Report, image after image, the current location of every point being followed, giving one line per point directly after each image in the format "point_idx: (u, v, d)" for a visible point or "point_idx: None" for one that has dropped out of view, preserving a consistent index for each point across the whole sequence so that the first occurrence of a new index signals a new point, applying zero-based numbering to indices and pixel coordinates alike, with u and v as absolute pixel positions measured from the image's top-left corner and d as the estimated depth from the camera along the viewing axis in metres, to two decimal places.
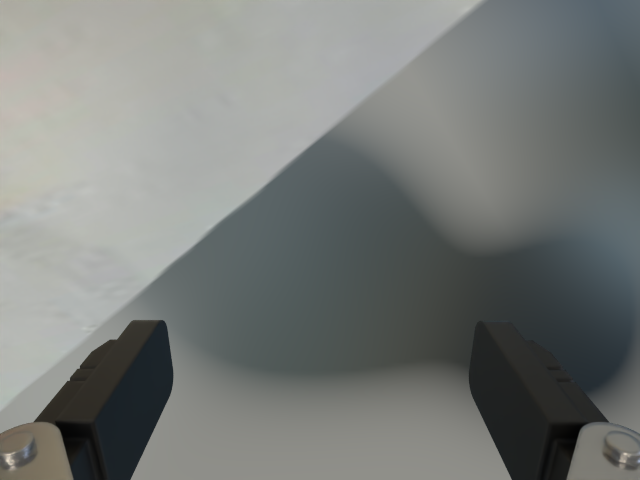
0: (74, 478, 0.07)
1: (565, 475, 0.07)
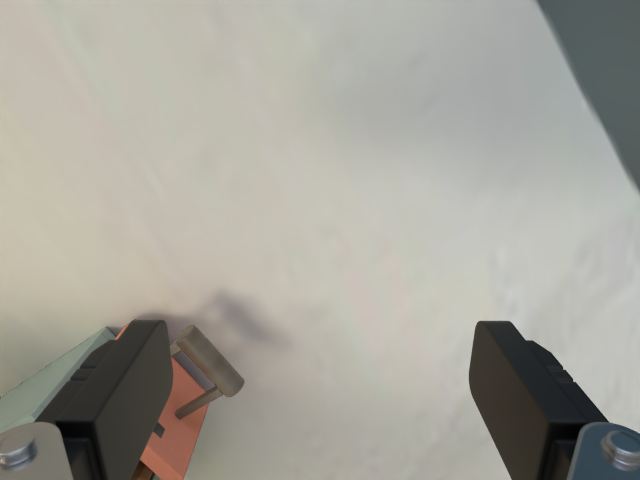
0: (74, 478, 0.07)
1: (565, 475, 0.07)
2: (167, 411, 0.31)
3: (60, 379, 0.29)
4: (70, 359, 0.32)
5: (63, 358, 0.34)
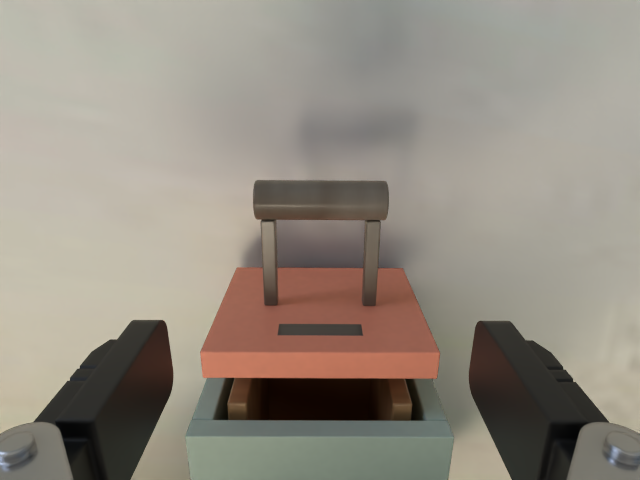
0: (74, 478, 0.07)
1: (565, 475, 0.07)
2: (349, 308, 0.19)
3: None
4: None
5: None
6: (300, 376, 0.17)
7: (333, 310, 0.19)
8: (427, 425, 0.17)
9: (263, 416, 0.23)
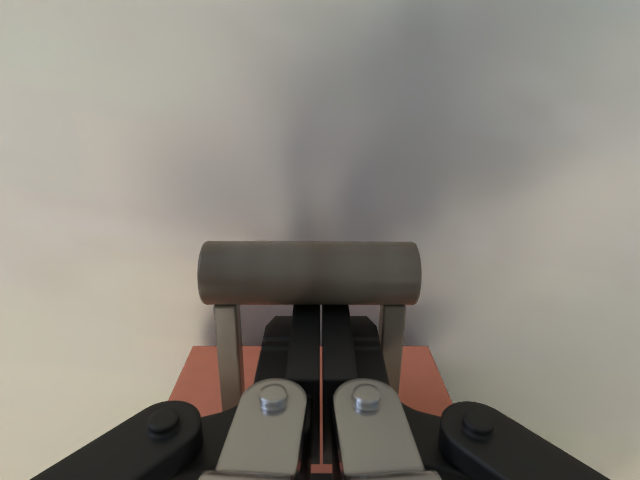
0: (310, 428, 0.08)
1: (332, 424, 0.08)
2: None
3: None
4: None
5: None
6: None
7: None
8: None
9: None
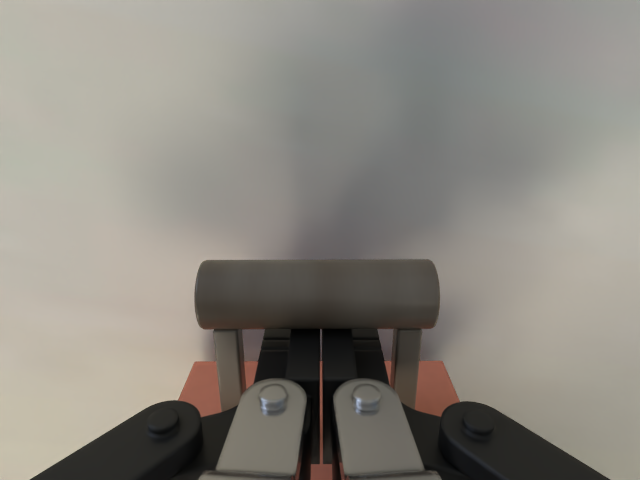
0: (310, 428, 0.08)
1: (332, 424, 0.08)
2: None
3: None
4: None
5: None
6: None
7: None
8: None
9: None
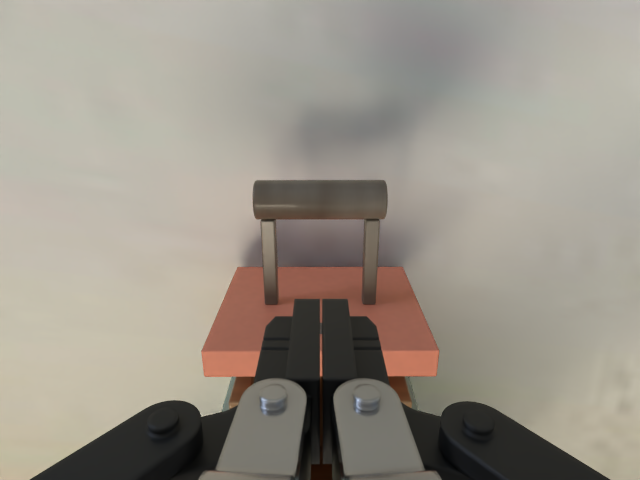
0: (310, 428, 0.08)
1: (332, 424, 0.08)
2: (349, 307, 0.20)
3: None
4: None
5: None
6: None
7: None
8: None
9: None
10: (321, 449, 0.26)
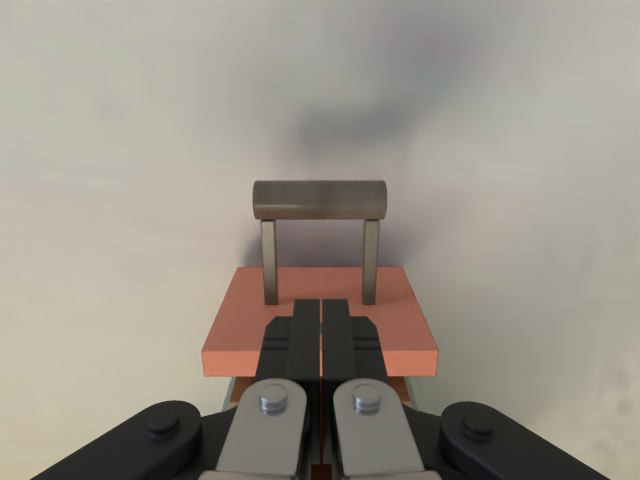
0: (310, 428, 0.08)
1: (332, 424, 0.08)
2: (349, 307, 0.20)
3: None
4: None
5: None
6: None
7: None
8: None
9: None
10: (321, 449, 0.26)
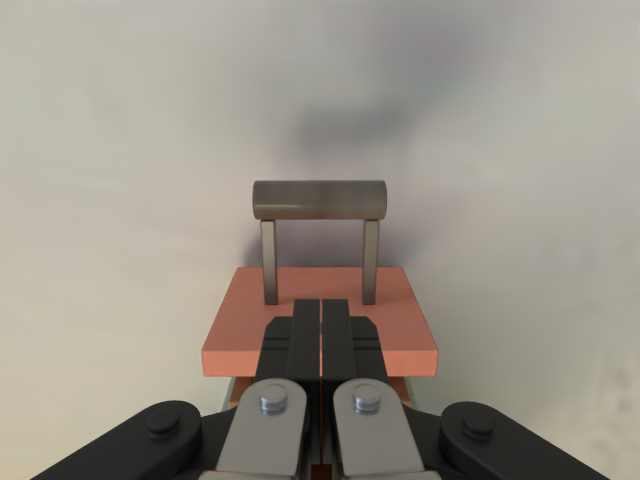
0: (310, 428, 0.08)
1: (332, 424, 0.08)
2: None
3: None
4: None
5: None
6: None
7: None
8: None
9: None
10: (321, 449, 0.26)
